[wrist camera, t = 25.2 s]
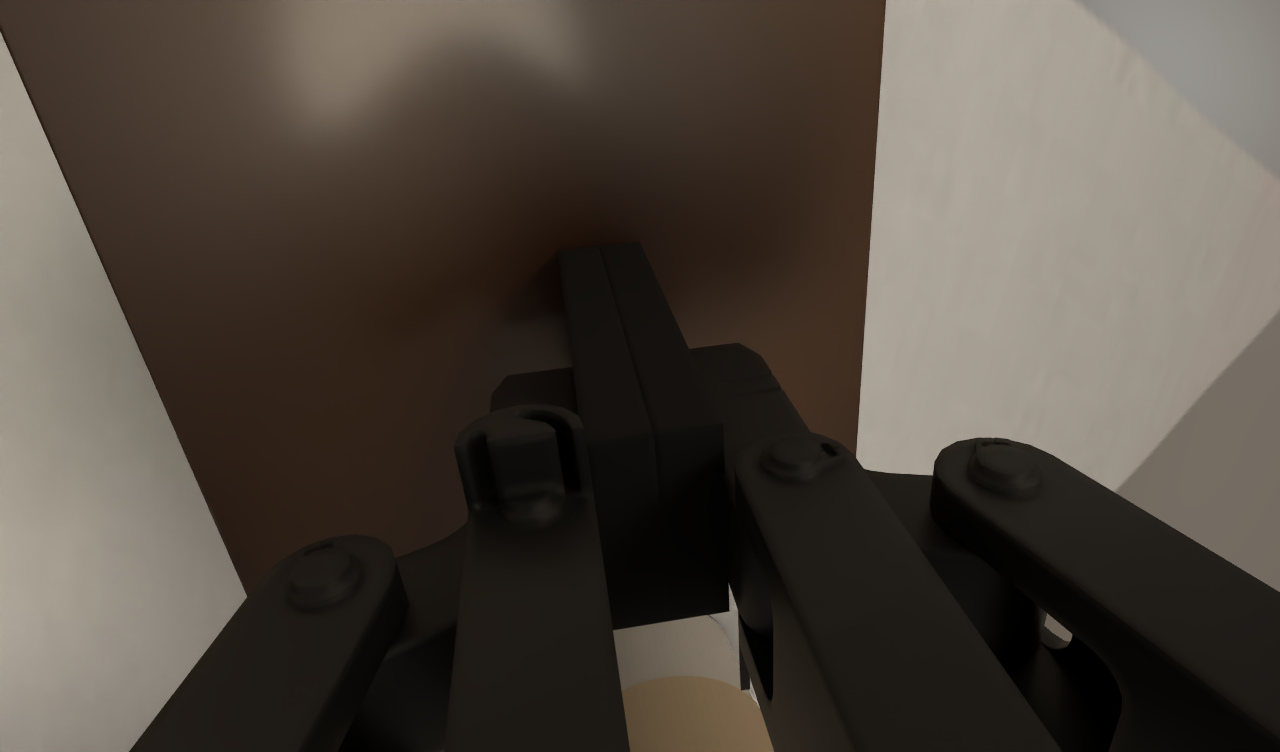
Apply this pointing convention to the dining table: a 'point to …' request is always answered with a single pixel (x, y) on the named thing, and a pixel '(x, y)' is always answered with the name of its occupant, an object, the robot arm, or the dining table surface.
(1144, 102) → the dining table surface
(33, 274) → the dining table surface
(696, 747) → the coffee cup
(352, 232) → the lid
